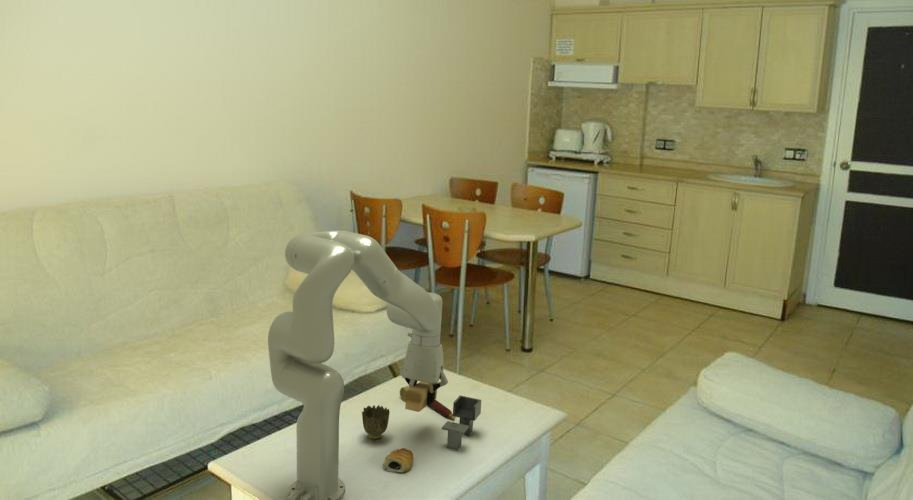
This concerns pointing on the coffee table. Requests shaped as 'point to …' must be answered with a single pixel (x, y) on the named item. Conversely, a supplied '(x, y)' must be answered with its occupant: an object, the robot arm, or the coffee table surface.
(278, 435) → the coffee table surface
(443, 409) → the gavel
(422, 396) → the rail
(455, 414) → the cup bracket
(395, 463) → the pastry
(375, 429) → the cup
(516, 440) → the coffee table surface
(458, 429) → the grey tabbed slab
